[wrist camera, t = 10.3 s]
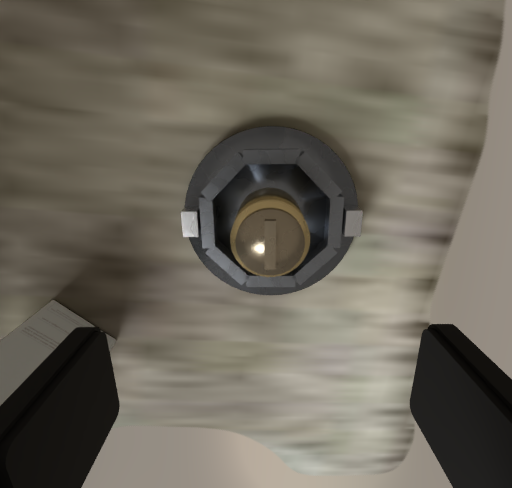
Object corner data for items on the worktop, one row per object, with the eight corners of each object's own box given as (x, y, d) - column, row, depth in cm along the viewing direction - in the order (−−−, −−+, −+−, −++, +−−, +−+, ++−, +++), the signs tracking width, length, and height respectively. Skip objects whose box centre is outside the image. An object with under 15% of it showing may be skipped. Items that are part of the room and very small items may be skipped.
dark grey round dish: (194, 289, 29) (187, 305, 26) (180, 127, 24) (170, 126, 22) (347, 290, 29) (355, 305, 26) (362, 125, 24) (374, 123, 21)
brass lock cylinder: (236, 187, 25) (226, 204, 19) (302, 187, 25) (314, 204, 19) (238, 249, 26) (229, 283, 20) (300, 249, 26) (310, 283, 20)
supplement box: (19, 346, 32) (-130, 473, 20) (54, 296, 30) (-88, 404, 18) (83, 385, 33) (-21, 526, 21) (120, 340, 31) (29, 468, 19)
